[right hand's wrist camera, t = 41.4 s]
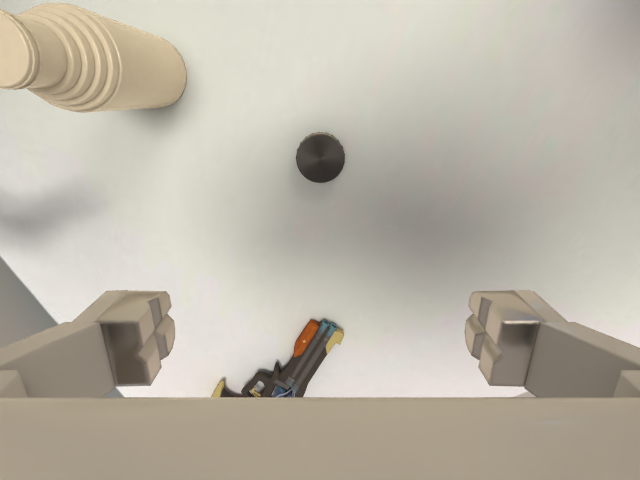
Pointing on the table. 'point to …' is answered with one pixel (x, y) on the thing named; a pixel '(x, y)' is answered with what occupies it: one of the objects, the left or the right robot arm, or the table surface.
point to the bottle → (87, 60)
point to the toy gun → (295, 363)
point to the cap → (320, 157)
